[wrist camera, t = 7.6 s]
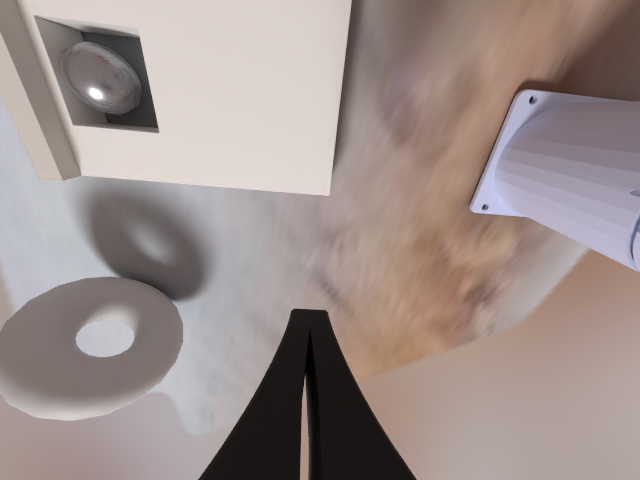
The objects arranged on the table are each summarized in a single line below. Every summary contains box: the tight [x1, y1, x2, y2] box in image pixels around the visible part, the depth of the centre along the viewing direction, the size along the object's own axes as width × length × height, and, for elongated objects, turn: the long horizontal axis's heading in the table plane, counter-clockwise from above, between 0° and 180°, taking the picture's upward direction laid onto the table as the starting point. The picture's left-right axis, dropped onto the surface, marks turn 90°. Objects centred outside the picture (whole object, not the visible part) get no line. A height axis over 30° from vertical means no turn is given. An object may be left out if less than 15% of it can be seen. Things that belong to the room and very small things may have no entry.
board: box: [0, 0, 352, 196], centre depth 13 cm, size 16×10×4 cm, turn 85°
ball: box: [60, 42, 142, 114], centre depth 13 cm, size 3×3×3 cm
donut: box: [0, 277, 183, 421], centre depth 17 cm, size 10×4×10 cm, turn 51°
